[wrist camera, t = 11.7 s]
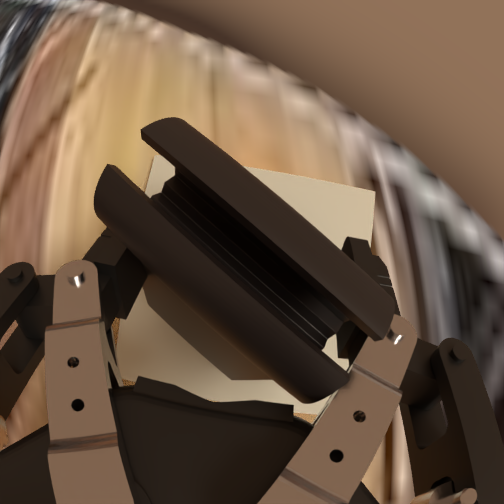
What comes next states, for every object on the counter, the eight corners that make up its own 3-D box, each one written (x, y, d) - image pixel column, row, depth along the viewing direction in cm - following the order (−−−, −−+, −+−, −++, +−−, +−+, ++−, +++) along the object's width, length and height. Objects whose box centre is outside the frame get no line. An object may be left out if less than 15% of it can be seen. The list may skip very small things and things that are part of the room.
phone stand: (259, 183, 18) (275, 21, 6) (340, 254, 18) (481, 187, 6) (149, 303, 17) (-5, 311, 5) (231, 378, 17) (201, 516, 5)
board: (117, 373, 18) (113, 376, 18) (157, 158, 20) (155, 155, 19) (337, 412, 18) (340, 416, 17) (372, 194, 20) (375, 191, 19)
